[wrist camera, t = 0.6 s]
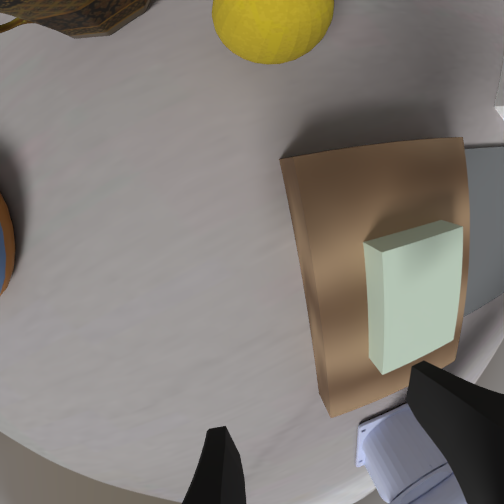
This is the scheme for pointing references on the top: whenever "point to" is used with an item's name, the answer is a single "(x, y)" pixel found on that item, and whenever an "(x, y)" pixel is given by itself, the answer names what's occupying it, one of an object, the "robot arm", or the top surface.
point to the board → (352, 250)
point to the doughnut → (6, 246)
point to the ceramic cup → (74, 15)
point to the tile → (412, 292)
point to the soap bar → (500, 94)
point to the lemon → (271, 27)
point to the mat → (485, 226)
